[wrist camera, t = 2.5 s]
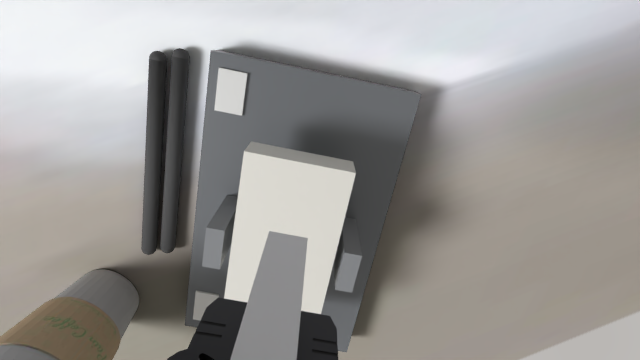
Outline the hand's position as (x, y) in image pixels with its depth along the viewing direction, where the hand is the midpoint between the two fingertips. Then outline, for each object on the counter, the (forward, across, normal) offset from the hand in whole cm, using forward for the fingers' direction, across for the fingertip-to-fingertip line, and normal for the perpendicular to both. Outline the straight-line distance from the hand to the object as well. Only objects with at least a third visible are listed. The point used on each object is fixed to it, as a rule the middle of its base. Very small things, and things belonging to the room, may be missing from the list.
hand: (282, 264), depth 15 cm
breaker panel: (+17, 0, -6) cm, 18 cm away
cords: (+17, -10, -3) cm, 20 cm away
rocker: (+12, 0, -6) cm, 13 cm away
